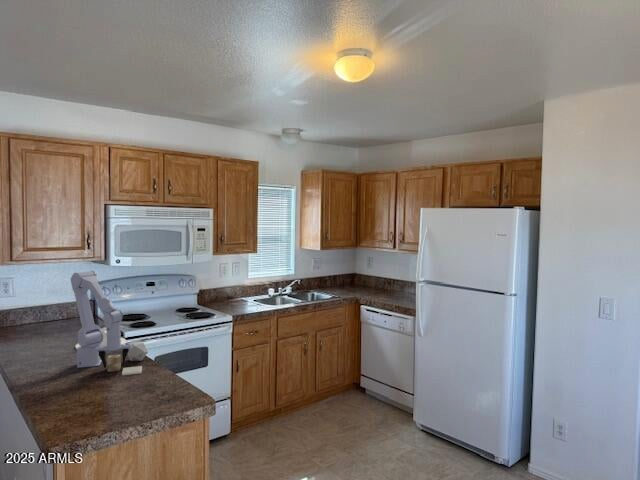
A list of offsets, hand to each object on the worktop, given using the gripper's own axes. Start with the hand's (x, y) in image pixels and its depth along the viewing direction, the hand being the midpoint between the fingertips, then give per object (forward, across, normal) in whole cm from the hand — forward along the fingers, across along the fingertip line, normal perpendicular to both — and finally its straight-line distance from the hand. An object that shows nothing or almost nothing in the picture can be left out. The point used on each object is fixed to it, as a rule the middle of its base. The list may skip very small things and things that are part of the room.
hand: (114, 366), depth 204 cm
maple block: (+2, 0, 0) cm, 2 cm away
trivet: (+1, +8, -6) cm, 10 cm away
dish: (+2, -11, +45) cm, 46 cm away
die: (+2, +9, +11) cm, 14 cm away
